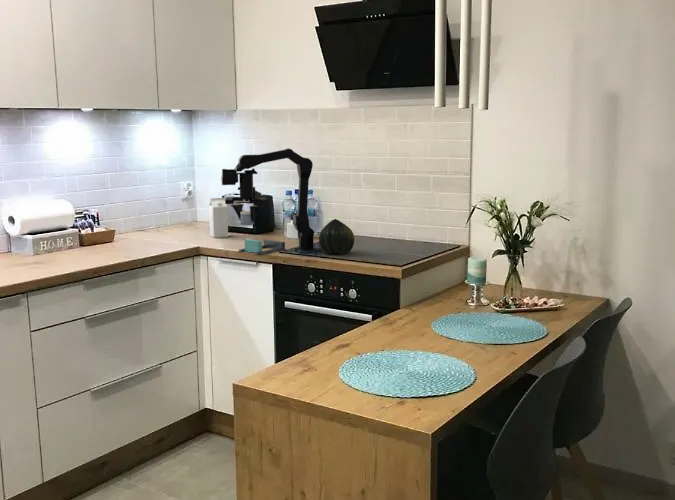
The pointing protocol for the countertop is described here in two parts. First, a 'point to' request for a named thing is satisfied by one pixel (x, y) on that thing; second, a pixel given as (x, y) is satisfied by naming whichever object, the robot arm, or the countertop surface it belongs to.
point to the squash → (336, 238)
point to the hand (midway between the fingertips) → (247, 221)
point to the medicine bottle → (292, 229)
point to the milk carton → (218, 218)
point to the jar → (246, 218)
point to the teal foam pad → (253, 245)
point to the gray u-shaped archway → (270, 246)
